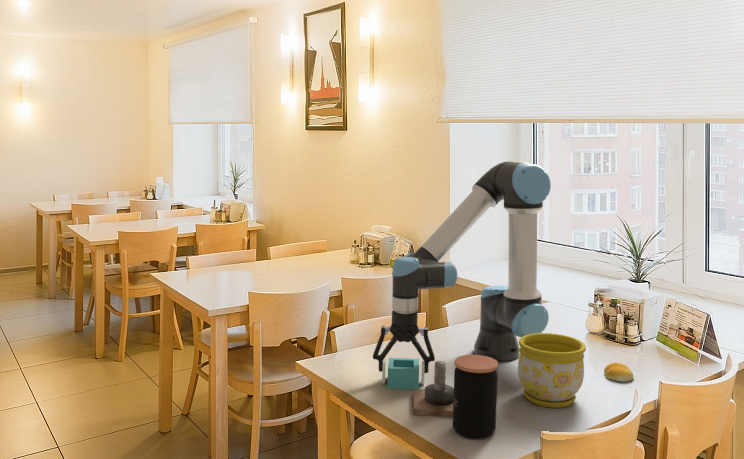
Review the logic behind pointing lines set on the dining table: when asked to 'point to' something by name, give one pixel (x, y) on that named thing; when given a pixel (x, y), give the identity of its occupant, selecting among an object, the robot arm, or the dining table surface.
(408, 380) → the collar
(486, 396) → the coffee jar
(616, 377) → the bread roll
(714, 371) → the dining table surface
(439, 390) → the post stand
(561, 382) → the flowerpot
